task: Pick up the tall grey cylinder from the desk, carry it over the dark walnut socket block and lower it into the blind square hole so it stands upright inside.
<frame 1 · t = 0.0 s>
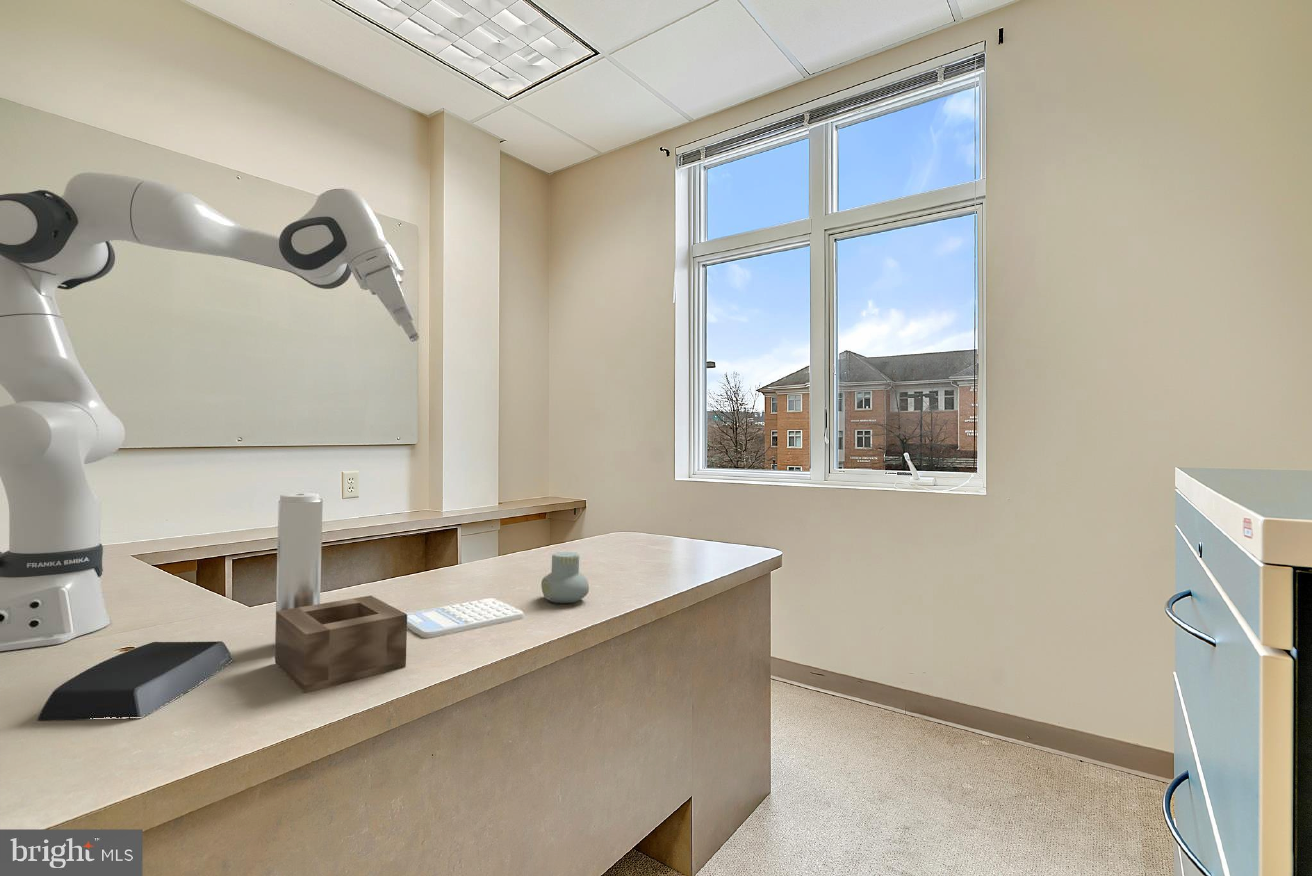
hand: (413, 337, 120), 54 cm above the table, tool tilted 30°, fingers open, 8 cm apart
tall grey cylinder: (297, 645, 101), on the table
calculator: (462, 622, 117), on the table
air freshener: (564, 601, 133), on the table
external hard drive: (146, 691, 84), on the table
socket block: (340, 664, 93), on the table
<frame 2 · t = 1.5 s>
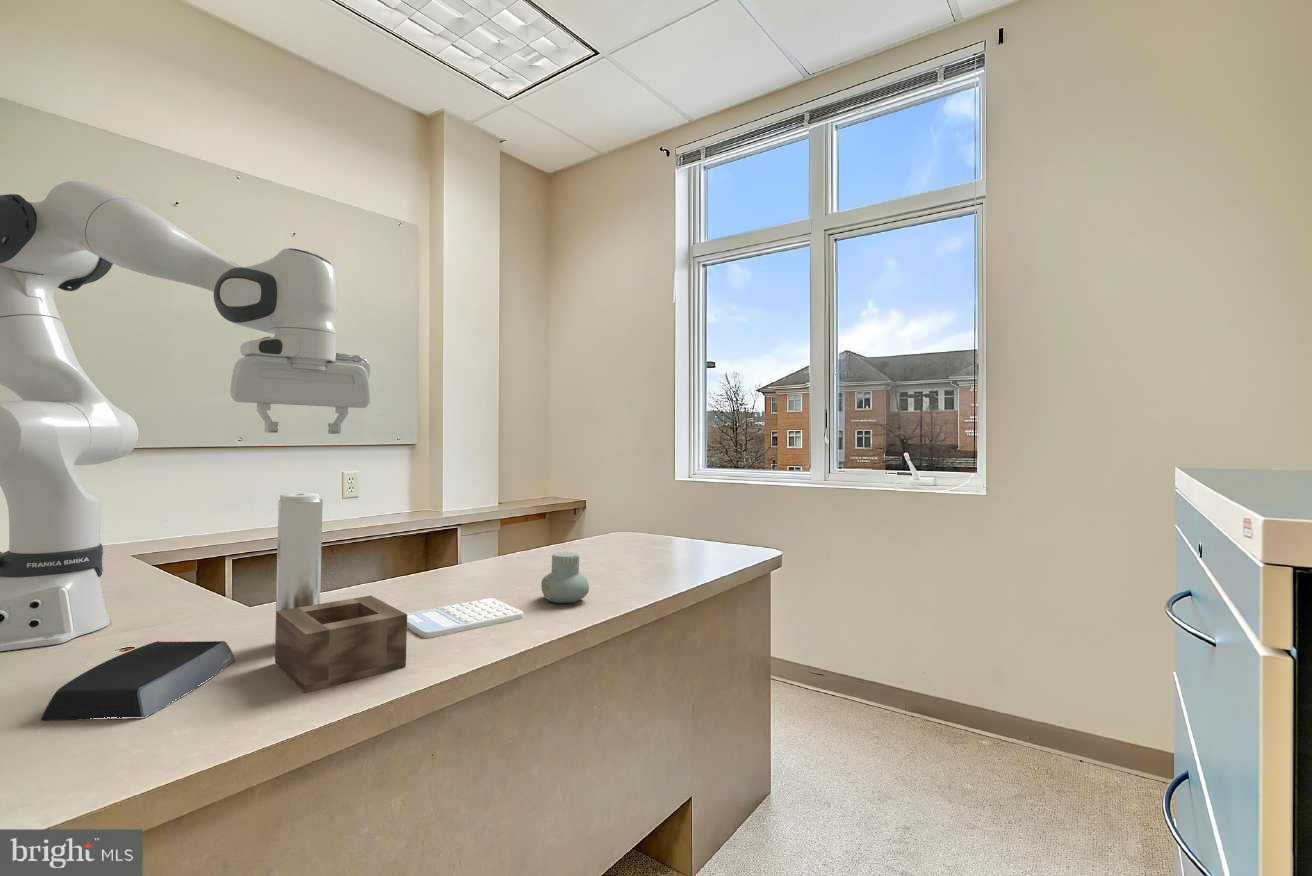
hand: (303, 433, 101), 35 cm above the table, tool pointing down, fingers open, 8 cm apart
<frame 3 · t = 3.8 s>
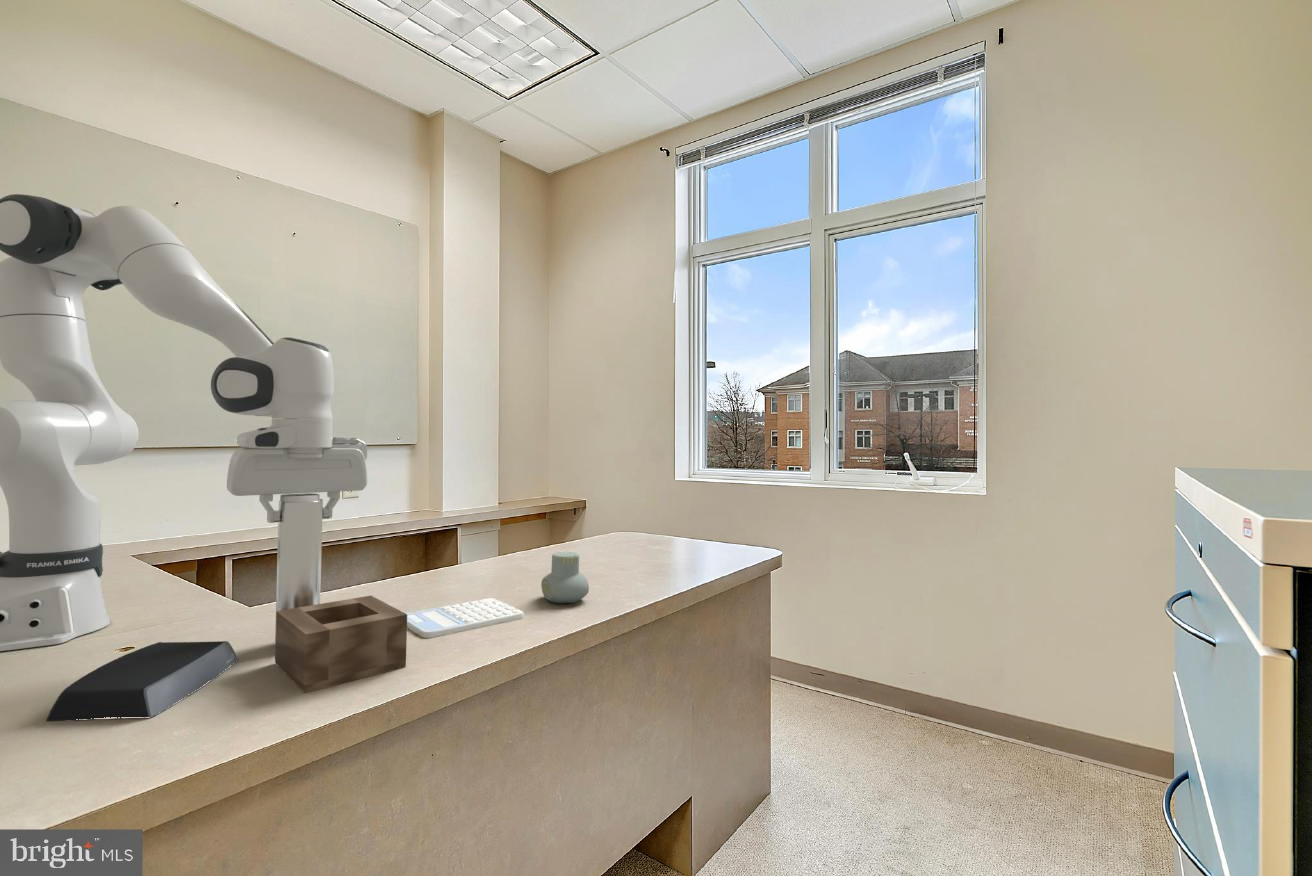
hand: (300, 520, 101), 21 cm above the table, tool pointing down, fingers closed on tall grey cylinder, 6 cm apart
tall grey cylinder: (297, 645, 101), on the table, touching gripper
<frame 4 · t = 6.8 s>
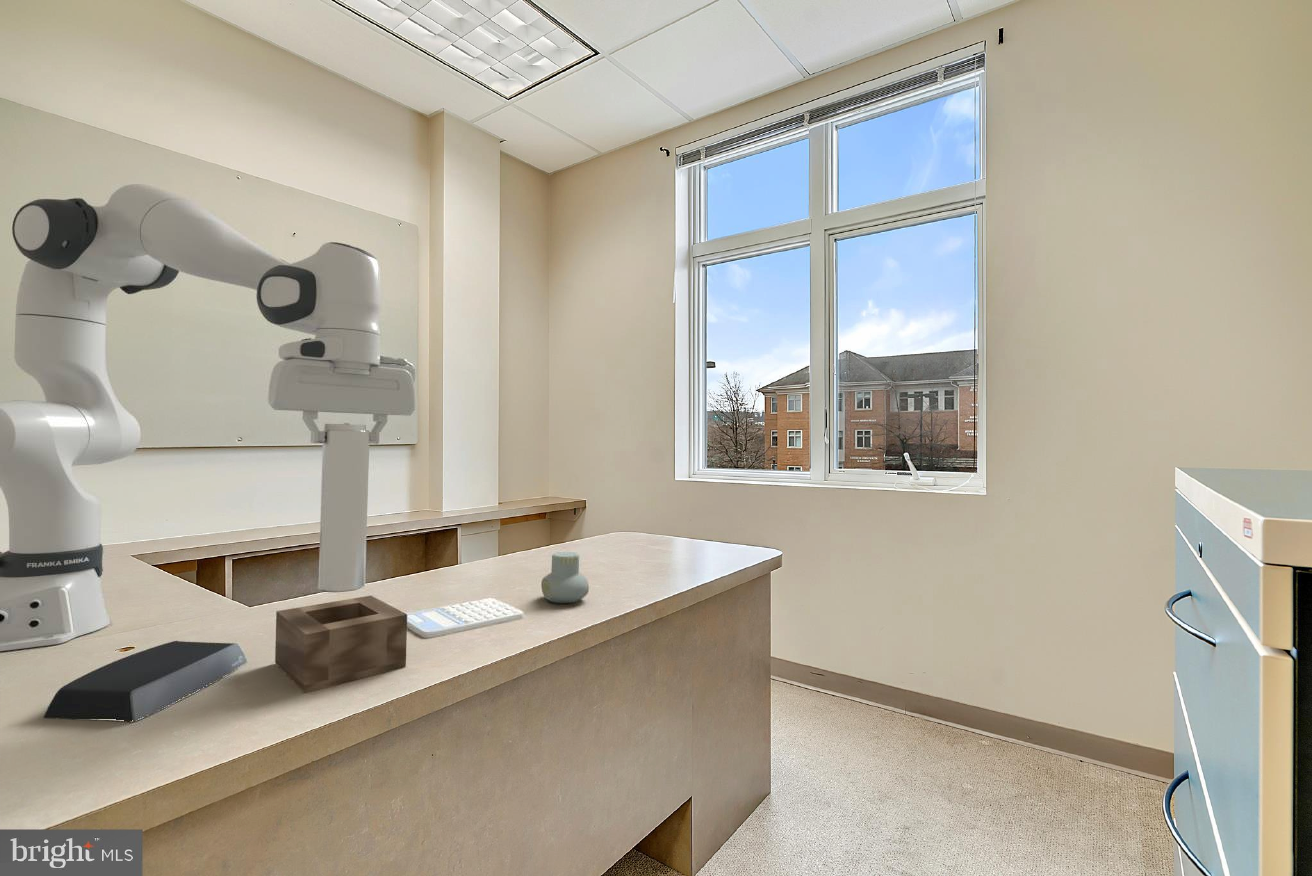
hand: (345, 443, 93), 34 cm above the table, tool pointing down, fingers closed on tall grey cylinder, 6 cm apart
tall grey cylinder: (341, 588, 93), point 12 cm above the table, touching gripper
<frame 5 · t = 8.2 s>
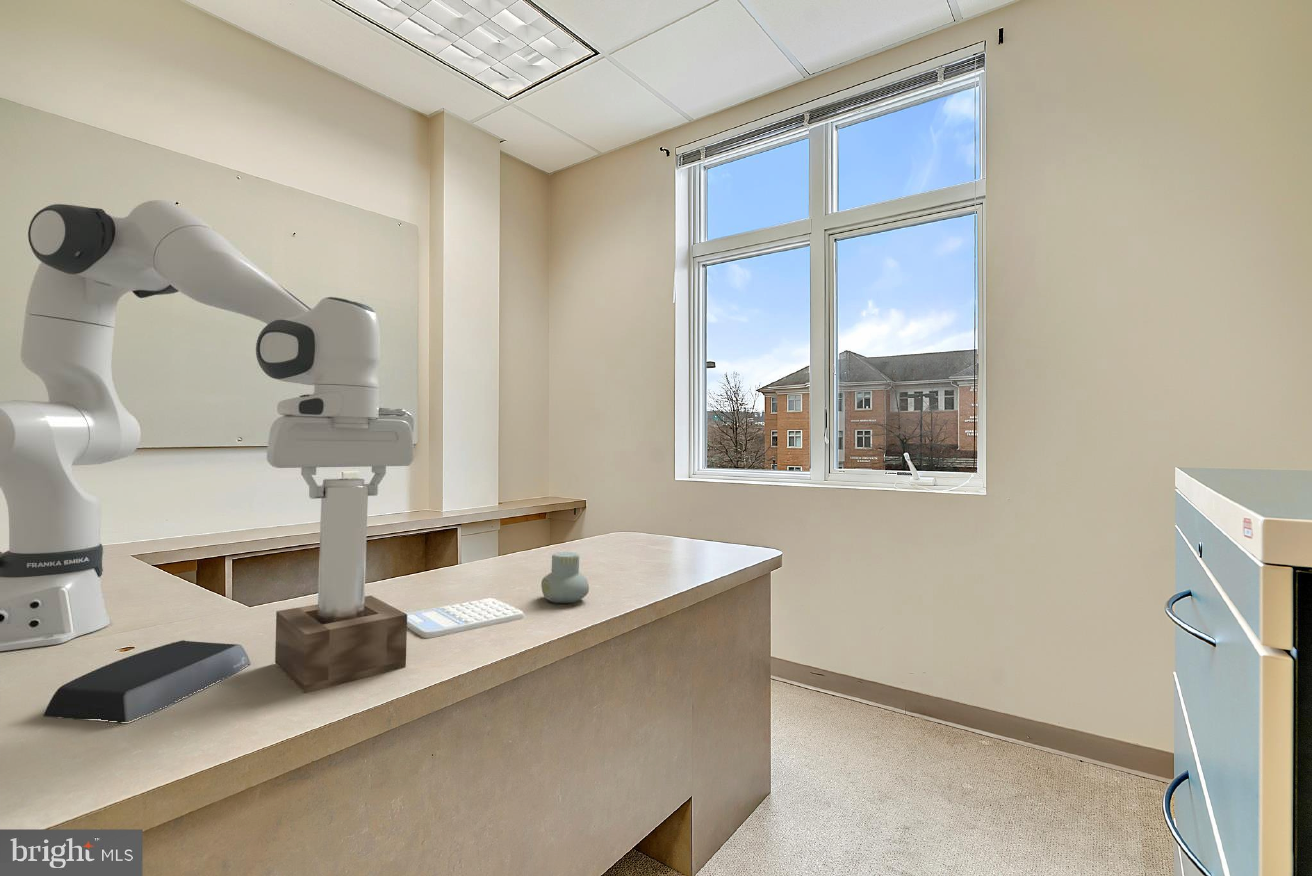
hand: (344, 496, 93), 26 cm above the table, tool pointing down, fingers closed on tall grey cylinder, 6 cm apart
tall grey cylinder: (340, 642, 93), point 3 cm above the table, touching gripper
when the fingers open (23 cm above the table, at t = 9.7 s): tall grey cylinder stays where it is, resting on socket block.
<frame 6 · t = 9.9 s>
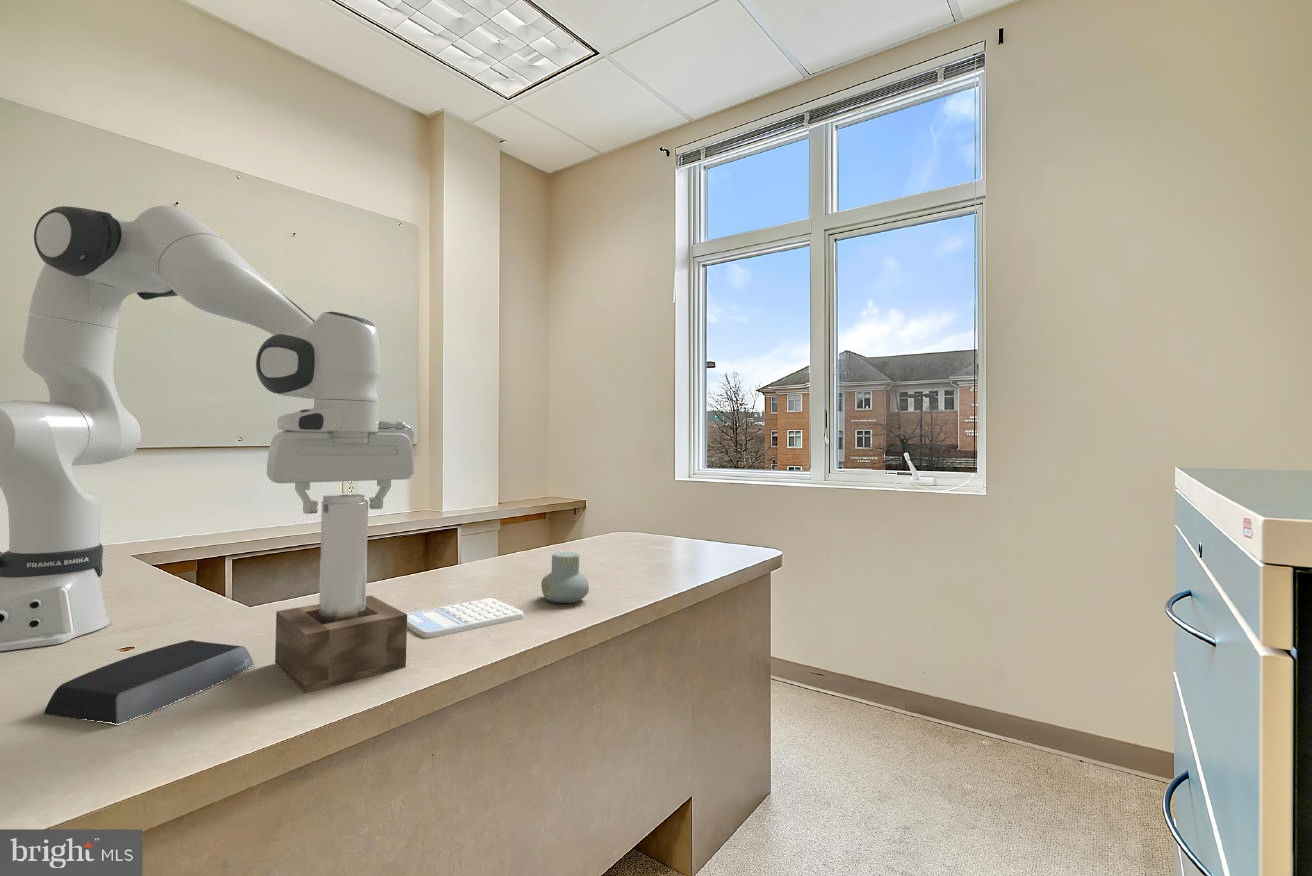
hand: (344, 510, 93), 24 cm above the table, tool pointing down, fingers open, 8 cm apart
tall grey cylinder: (341, 658, 93), point 1 cm above the table, touching socket block
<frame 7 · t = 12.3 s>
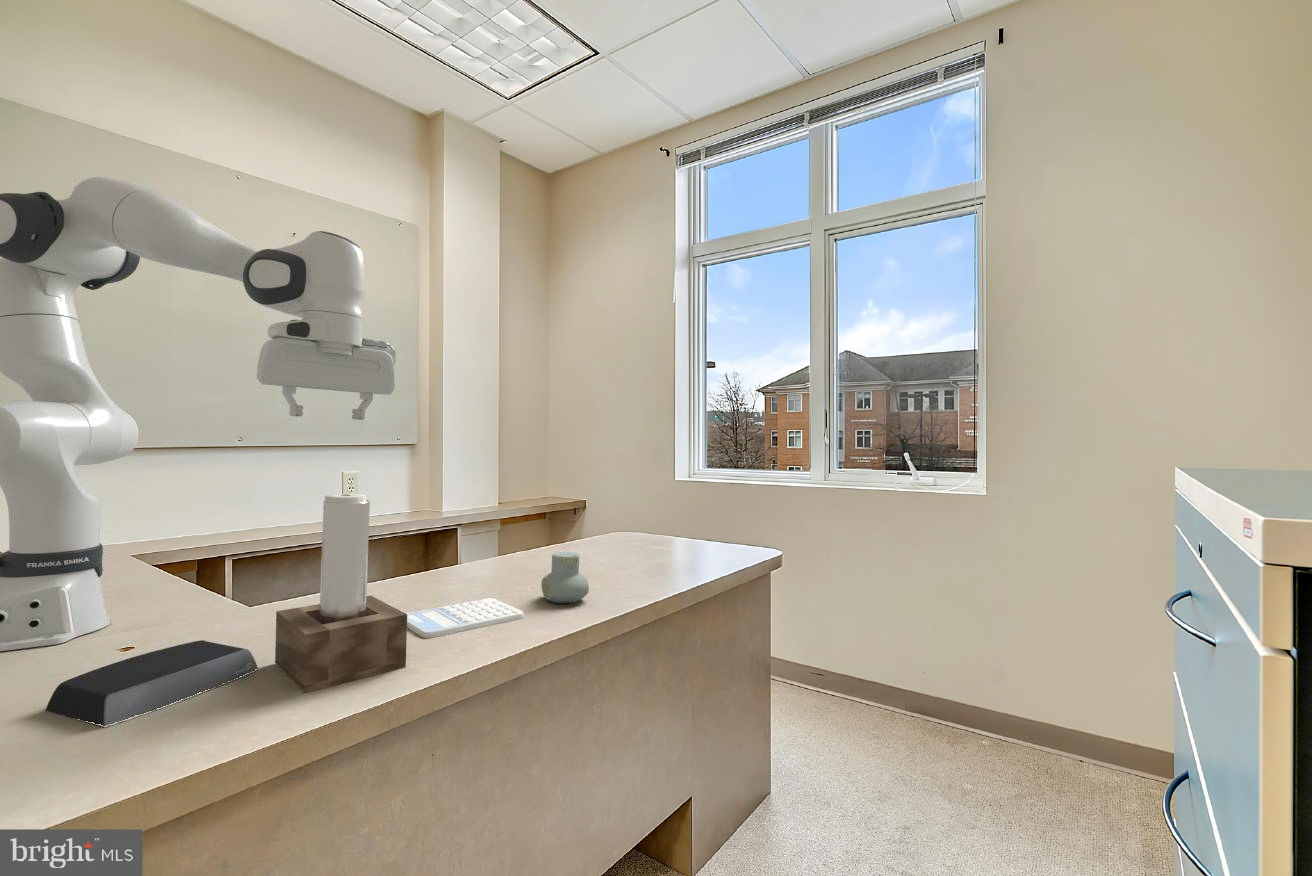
hand: (328, 418, 100), 38 cm above the table, tool pointing down, fingers open, 8 cm apart
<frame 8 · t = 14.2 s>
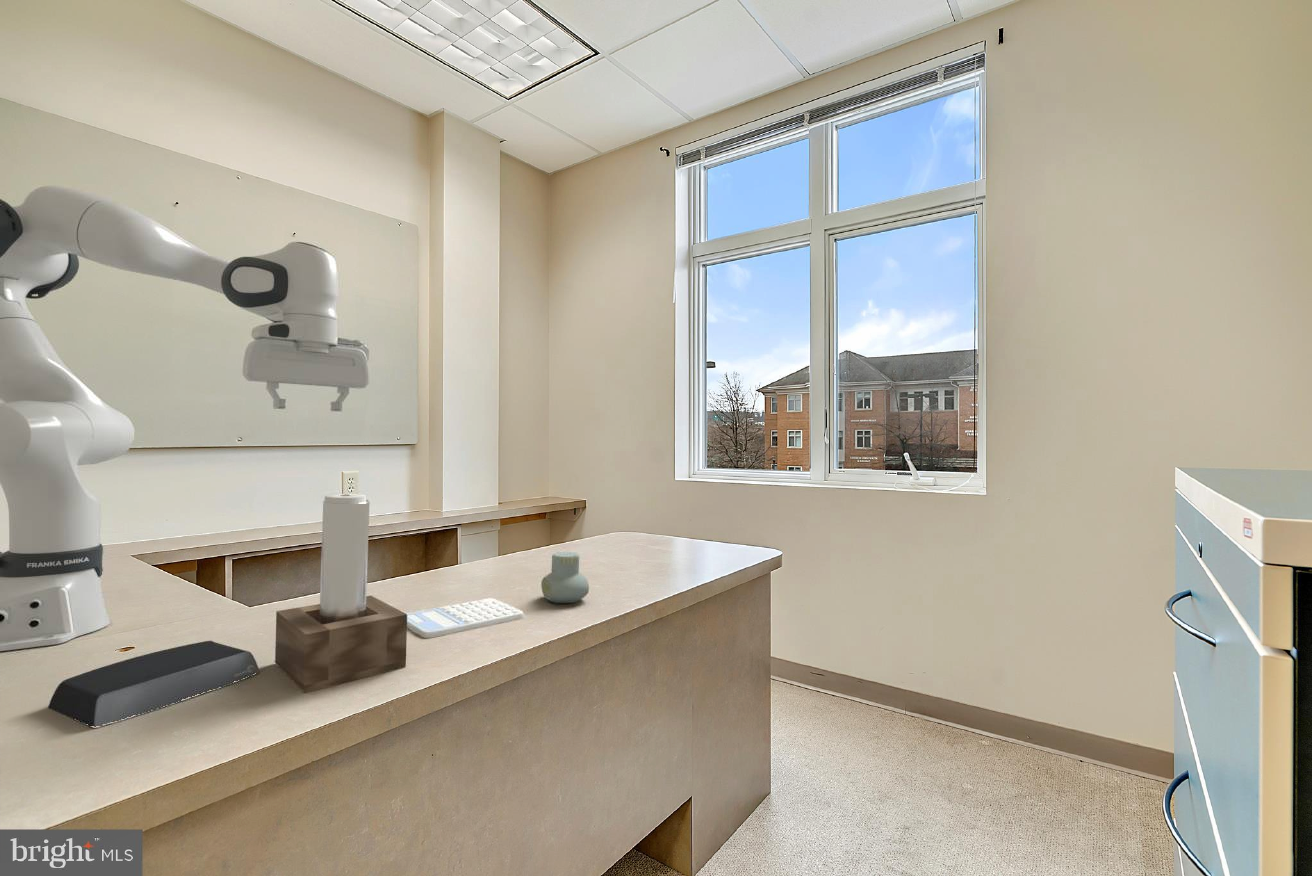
hand: (308, 410, 112), 39 cm above the table, tool pointing down, fingers open, 8 cm apart
at the end: tall grey cylinder 0.4 cm off-centre on the socket block, point 0.8 cm above the socket block's base; tall grey cylinder tilted 0°; the gripper is holding nothing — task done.
